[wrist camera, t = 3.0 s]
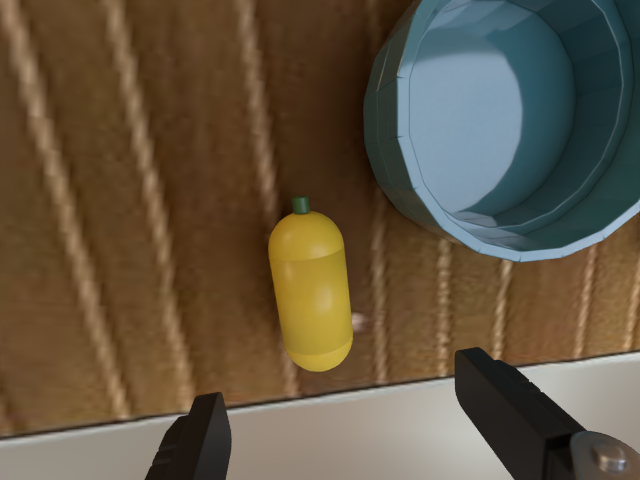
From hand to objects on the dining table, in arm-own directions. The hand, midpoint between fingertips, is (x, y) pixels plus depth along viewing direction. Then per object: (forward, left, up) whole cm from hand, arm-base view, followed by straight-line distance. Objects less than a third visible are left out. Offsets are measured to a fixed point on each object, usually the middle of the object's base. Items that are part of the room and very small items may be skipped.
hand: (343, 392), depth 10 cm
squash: (0, 0, -11) cm, 11 cm away
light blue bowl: (+12, +9, -11) cm, 18 cm away
